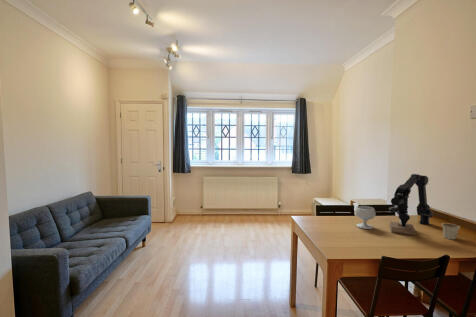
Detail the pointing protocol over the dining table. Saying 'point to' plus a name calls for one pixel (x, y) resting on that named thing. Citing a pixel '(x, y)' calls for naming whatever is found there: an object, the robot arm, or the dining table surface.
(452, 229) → the flower pot
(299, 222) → the dining table surface
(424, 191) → the robot arm
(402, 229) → the bore block
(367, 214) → the chalice
